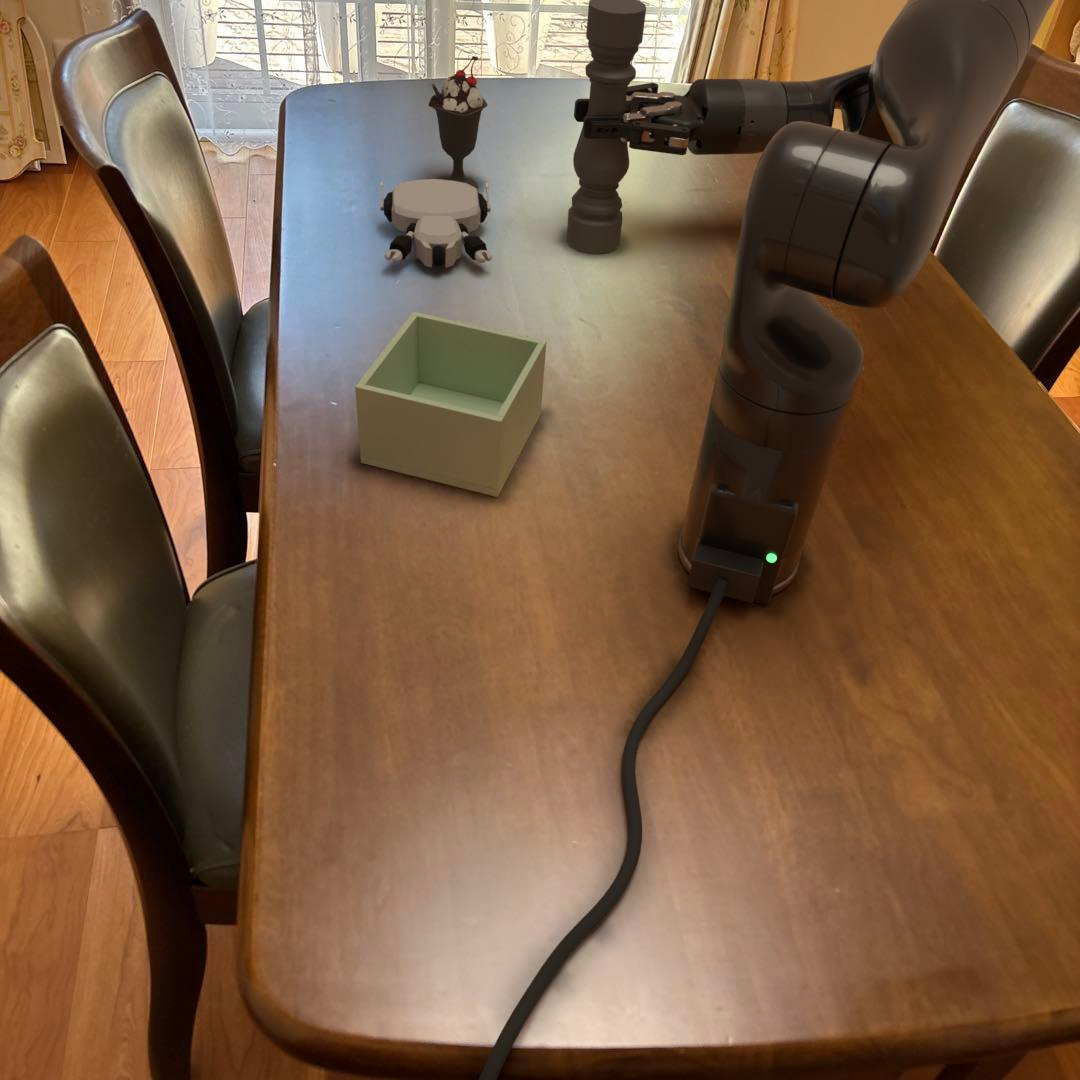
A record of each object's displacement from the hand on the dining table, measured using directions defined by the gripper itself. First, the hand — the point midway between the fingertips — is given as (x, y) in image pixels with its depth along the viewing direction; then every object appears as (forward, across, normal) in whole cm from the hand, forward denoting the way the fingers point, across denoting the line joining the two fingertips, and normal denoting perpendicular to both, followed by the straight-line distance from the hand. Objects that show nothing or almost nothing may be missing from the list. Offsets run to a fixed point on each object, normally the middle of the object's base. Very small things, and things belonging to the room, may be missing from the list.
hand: (580, 118), depth 107 cm
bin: (+18, +34, +14) cm, 41 cm away
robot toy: (+15, 0, +14) cm, 21 cm away
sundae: (+11, -15, +14) cm, 23 cm away
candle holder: (-3, 0, +14) cm, 14 cm away
